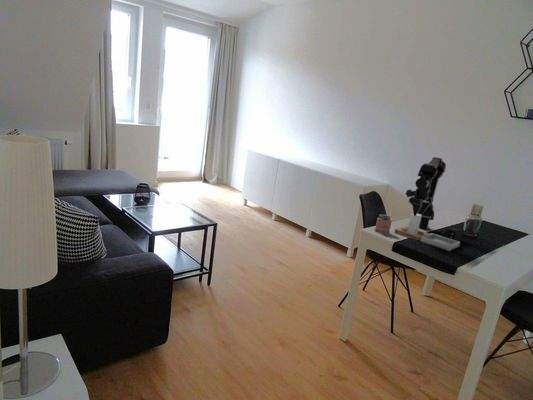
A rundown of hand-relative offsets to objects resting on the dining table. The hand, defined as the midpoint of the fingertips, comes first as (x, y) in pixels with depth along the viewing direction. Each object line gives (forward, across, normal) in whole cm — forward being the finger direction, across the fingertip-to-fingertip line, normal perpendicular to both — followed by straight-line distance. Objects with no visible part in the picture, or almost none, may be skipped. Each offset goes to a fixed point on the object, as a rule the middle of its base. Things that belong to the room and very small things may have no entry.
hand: (417, 214), depth 205 cm
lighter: (+12, +14, -12) cm, 22 cm away
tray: (+12, 0, +15) cm, 19 cm away
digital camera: (+12, -16, +16) cm, 26 cm away
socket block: (+12, 0, -1) cm, 12 cm away
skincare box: (+12, 0, -1) cm, 12 cm away
